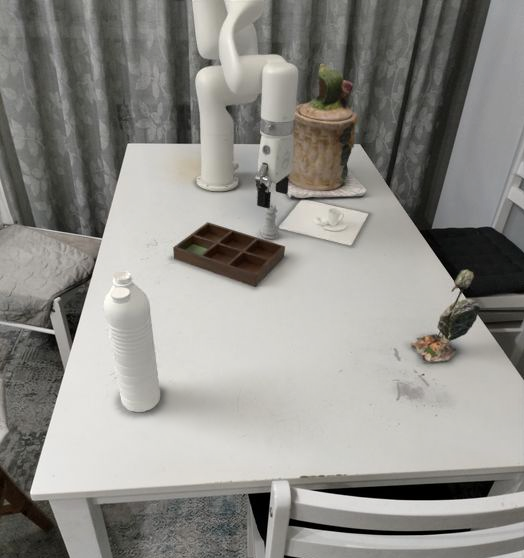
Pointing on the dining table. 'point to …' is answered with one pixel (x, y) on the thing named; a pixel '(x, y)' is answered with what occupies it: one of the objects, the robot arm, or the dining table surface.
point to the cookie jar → (324, 142)
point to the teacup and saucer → (324, 221)
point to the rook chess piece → (270, 224)
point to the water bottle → (132, 343)
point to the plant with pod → (450, 324)
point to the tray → (229, 253)
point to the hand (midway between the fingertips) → (272, 199)
